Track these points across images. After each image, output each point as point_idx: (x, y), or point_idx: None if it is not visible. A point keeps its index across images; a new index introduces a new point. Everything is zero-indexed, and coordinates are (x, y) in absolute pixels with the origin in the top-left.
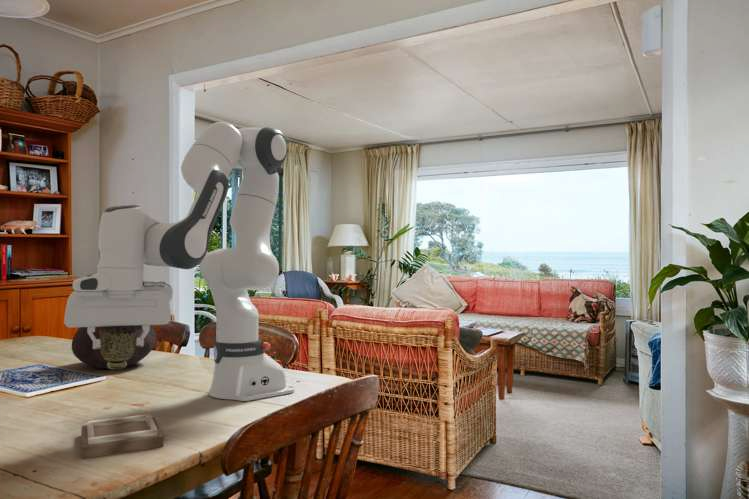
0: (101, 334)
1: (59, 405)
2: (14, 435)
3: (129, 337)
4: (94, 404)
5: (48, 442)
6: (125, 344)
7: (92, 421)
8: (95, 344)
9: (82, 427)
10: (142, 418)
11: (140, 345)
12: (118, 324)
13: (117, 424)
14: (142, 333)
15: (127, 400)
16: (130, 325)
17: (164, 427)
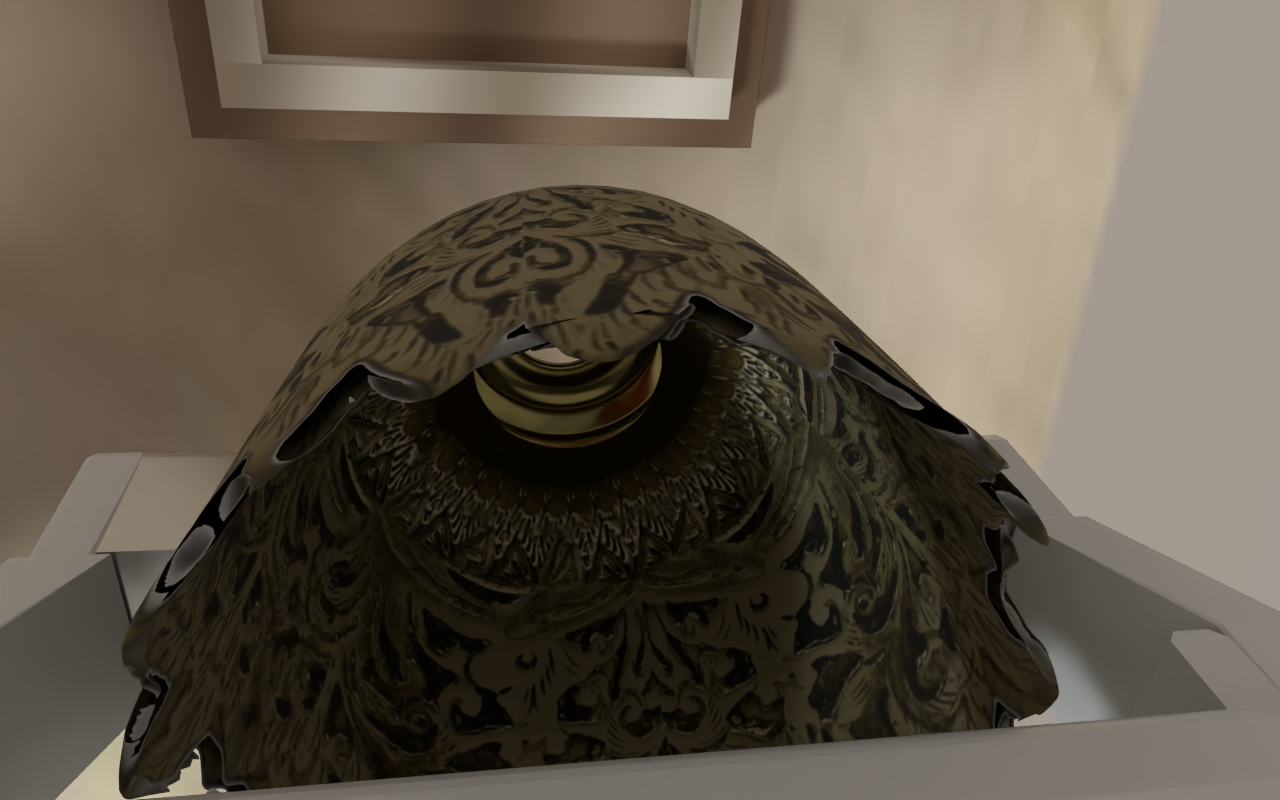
0: (922, 731)
1: None
2: (1046, 309)
3: (375, 347)
4: None
5: (928, 72)
6: (477, 250)
7: (693, 100)
8: None
9: (751, 95)
10: (294, 58)
11: (155, 454)
12: (721, 778)
13: (504, 47)
14: (51, 749)
15: None
16: (323, 784)
17: (119, 37)
